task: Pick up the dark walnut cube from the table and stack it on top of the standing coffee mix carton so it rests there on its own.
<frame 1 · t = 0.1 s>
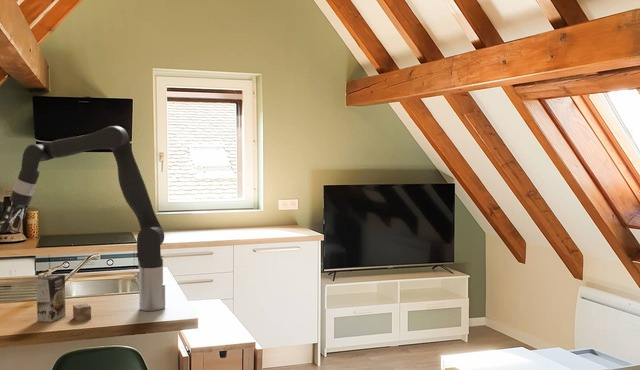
hand: (9, 229, 260), 31 cm above the counter, tool tilted 20°, fingers open, 8 cm apart
coffee box: (51, 319, 246), on the counter
walnut cube: (82, 318, 246), on the counter
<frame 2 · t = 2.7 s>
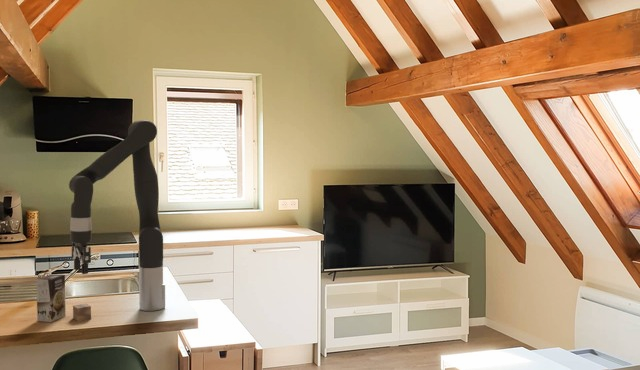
hand: (80, 271, 245), 18 cm above the counter, tool pointing down, fingers open, 8 cm apart
nothing on the counter moved.
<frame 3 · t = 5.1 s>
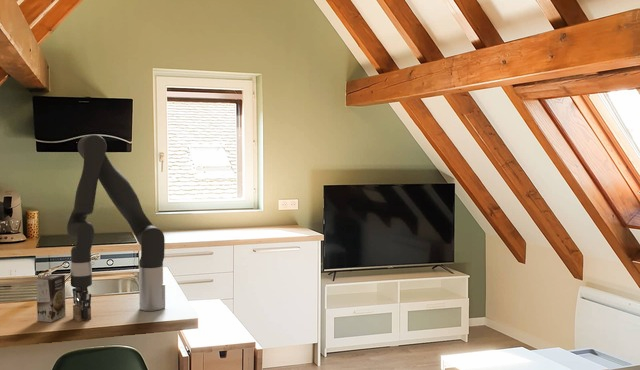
hand: (82, 317, 246), 0 cm above the counter, tool pointing down, fingers closed on walnut cube, 5 cm apart
walnut cube: (82, 318, 246), on the counter, touching gripper
everything else where it was.
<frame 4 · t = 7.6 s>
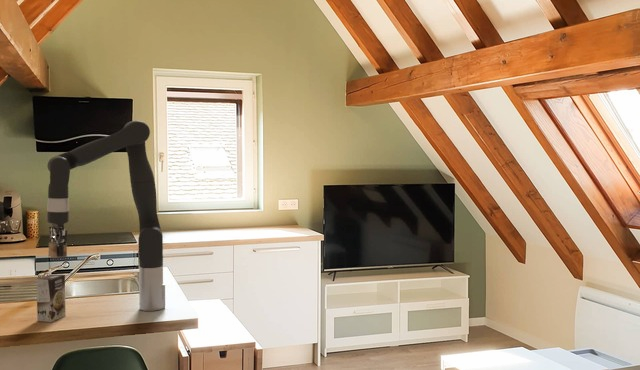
hand: (57, 254, 244), 24 cm above the counter, tool pointing down, fingers closed on walnut cube, 5 cm apart
walnut cube: (57, 256, 244), point 24 cm above the counter, touching gripper
everything else where it was.
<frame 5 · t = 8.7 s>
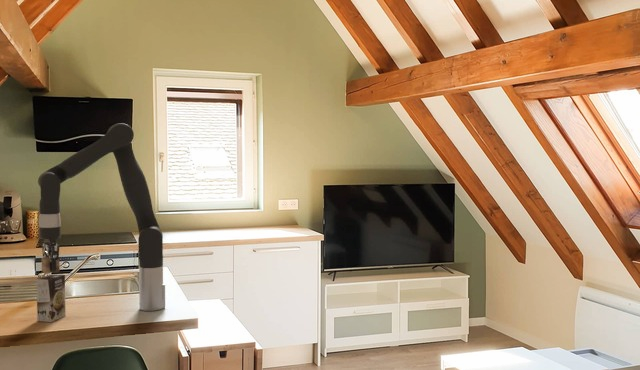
hand: (50, 270, 245), 19 cm above the counter, tool pointing down, fingers closed on walnut cube, 5 cm apart
walnut cube: (50, 271, 245), point 18 cm above the counter, touching gripper
everything else where it was.
when the fingers open (17 cm above the counter, at t = 9.8 s): walnut cube stays where it is, resting on coffee box.
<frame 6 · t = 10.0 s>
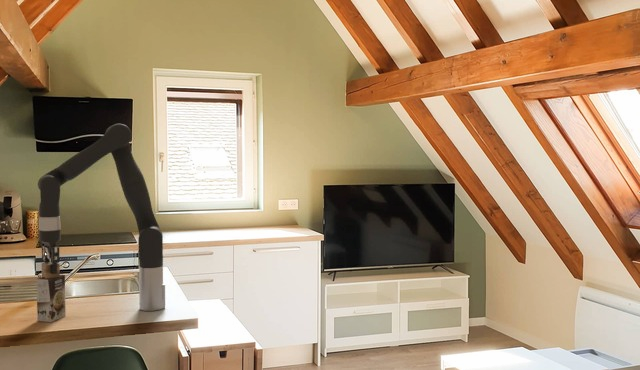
hand: (50, 272, 245), 18 cm above the counter, tool pointing down, fingers open, 7 cm apart
coffee box: (51, 319, 246), on the counter, touching walnut cube
walnut cube: (50, 276, 245), point 16 cm above the counter, touching coffee box
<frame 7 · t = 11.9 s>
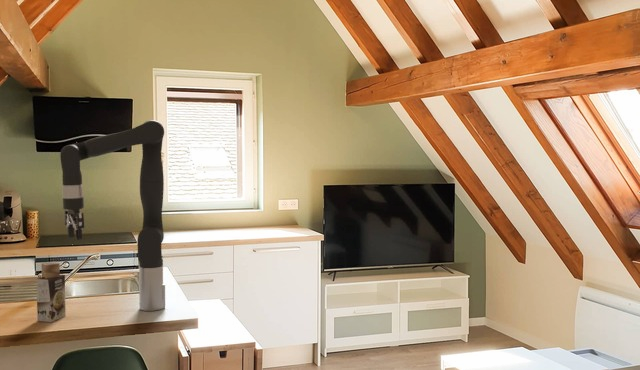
hand: (75, 238, 252), 29 cm above the counter, tool pointing down, fingers open, 8 cm apart
nothing on the counter moved.
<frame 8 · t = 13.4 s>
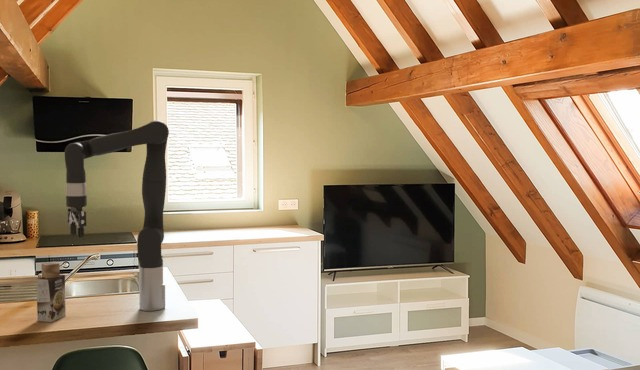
hand: (77, 235, 253), 30 cm above the counter, tool pointing down, fingers open, 8 cm apart
nothing on the counter moved.
at the end: walnut cube inside the target area on the coffee box (0.0 cm from its centre), point 16.3 cm above the coffee box's base; walnut cube tilted 0°; the gripper is holding nothing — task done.
